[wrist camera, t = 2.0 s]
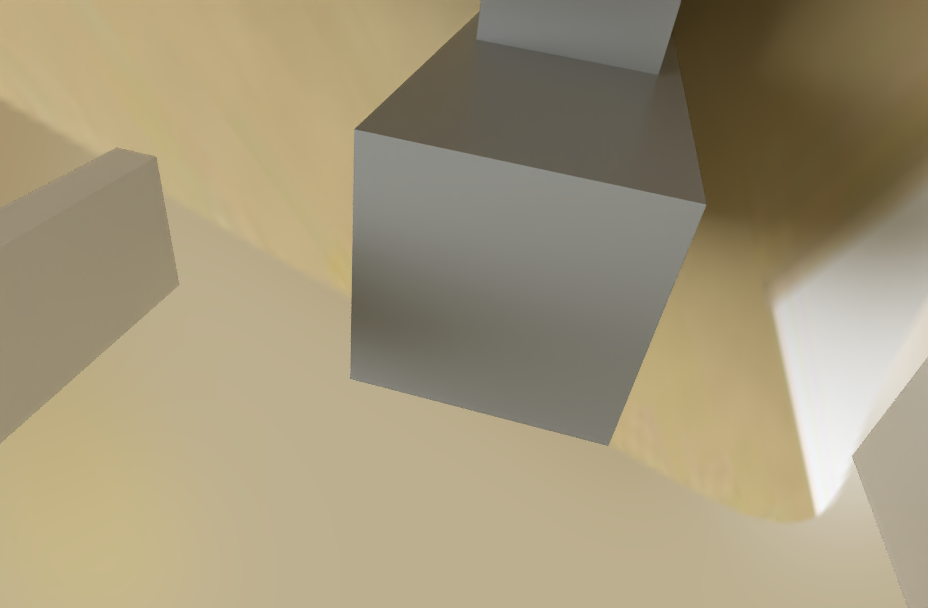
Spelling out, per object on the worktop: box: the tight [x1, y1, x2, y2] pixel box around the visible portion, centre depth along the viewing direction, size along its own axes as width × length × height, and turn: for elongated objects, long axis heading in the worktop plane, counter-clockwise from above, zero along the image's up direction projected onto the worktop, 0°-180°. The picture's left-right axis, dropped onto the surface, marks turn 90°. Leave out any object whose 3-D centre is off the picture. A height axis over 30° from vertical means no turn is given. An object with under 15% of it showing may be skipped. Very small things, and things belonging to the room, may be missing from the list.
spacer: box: [350, 0, 707, 446], centre depth 13 cm, size 10×5×10 cm, turn 172°
